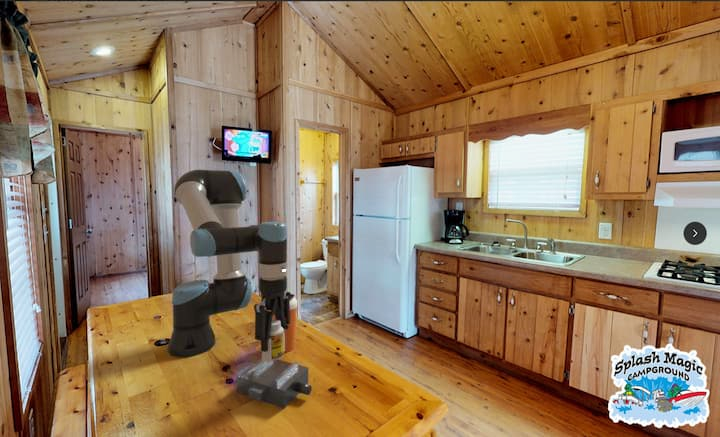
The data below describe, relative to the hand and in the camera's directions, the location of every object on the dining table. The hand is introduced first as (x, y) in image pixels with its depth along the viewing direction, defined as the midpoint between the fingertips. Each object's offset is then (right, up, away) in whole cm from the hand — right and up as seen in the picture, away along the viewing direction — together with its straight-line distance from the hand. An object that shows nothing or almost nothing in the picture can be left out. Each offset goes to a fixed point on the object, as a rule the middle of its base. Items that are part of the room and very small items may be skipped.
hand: (273, 355), depth 91 cm
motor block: (+1, -10, -1) cm, 10 cm away
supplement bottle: (0, -1, 0) cm, 1 cm away
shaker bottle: (-3, -8, +25) cm, 26 cm away
